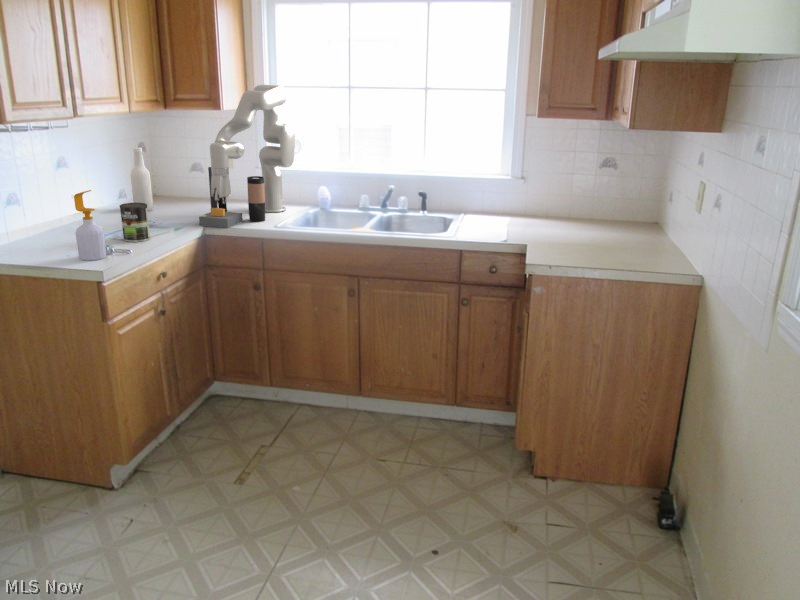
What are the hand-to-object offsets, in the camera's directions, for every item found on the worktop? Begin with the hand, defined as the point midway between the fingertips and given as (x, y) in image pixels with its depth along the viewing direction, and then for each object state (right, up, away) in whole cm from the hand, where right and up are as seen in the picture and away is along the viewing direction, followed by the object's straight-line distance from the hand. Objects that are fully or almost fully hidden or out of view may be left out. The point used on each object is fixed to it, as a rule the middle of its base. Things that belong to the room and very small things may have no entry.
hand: (222, 211), depth 293 cm
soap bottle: (-31, -25, -58) cm, 71 cm away
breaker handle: (-1, -2, -4) cm, 4 cm away
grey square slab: (-1, -5, 0) cm, 5 cm away
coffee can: (-26, -16, -31) cm, 44 cm away
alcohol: (-45, +4, +23) cm, 51 cm away
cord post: (-7, 0, +13) cm, 15 cm away
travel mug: (+14, -3, +8) cm, 17 cm away
